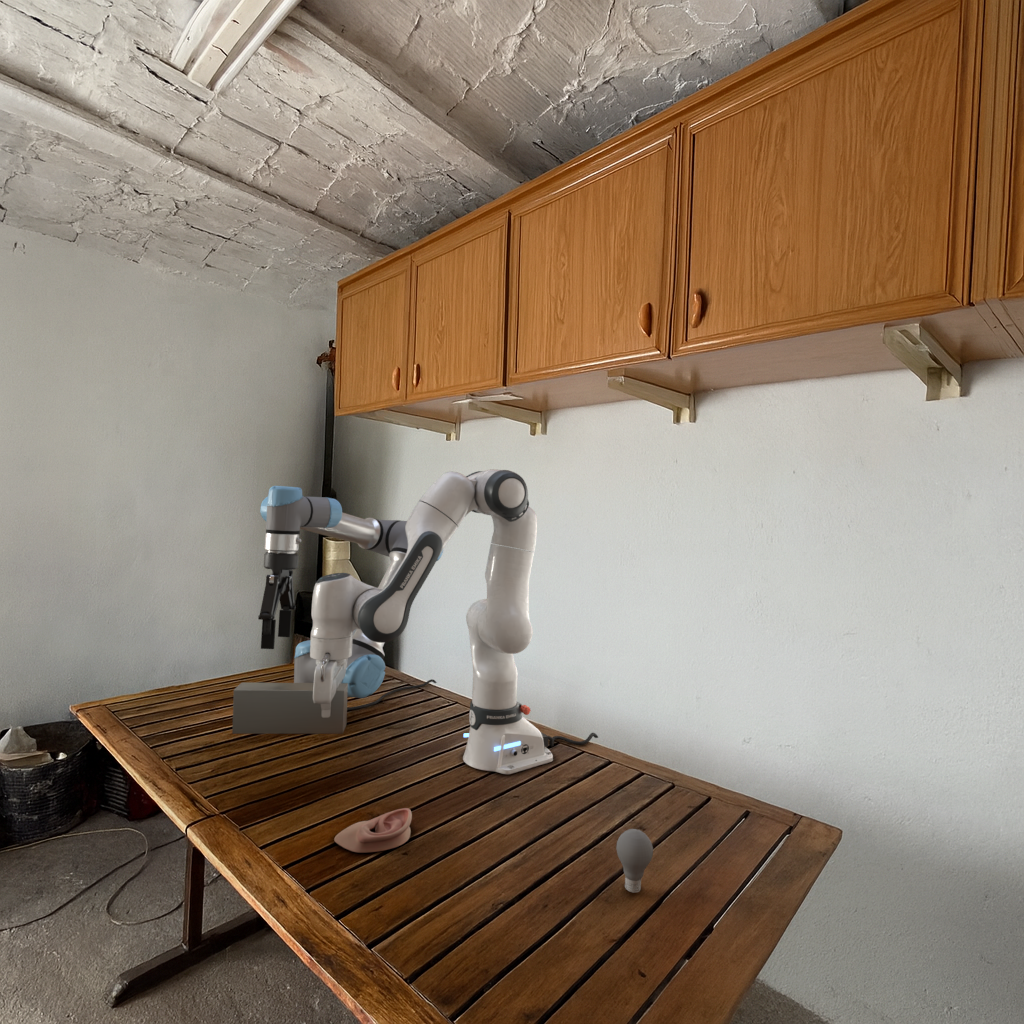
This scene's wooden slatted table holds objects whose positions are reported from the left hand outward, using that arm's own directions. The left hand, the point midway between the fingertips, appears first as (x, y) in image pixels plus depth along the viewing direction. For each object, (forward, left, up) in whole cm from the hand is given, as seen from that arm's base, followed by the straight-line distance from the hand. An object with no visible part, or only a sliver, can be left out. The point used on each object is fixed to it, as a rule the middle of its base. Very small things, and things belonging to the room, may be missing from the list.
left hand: (276, 642), depth 148 cm
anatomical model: (+4, +43, -29) cm, 52 cm away
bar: (+4, +13, -16) cm, 21 cm away
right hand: (-2, +19, -12) cm, 22 cm away
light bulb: (-14, +87, -29) cm, 93 cm away
